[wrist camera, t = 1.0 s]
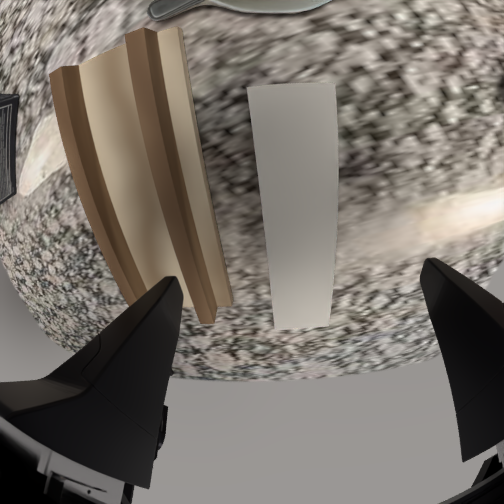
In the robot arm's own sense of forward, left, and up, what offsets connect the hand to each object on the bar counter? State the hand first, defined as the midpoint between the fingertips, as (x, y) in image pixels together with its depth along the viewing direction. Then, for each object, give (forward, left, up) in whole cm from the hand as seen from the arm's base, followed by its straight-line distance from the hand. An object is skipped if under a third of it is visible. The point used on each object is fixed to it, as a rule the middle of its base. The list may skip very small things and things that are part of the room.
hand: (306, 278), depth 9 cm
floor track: (-10, 0, -10) cm, 15 cm away
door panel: (0, 0, -11) cm, 11 cm away
